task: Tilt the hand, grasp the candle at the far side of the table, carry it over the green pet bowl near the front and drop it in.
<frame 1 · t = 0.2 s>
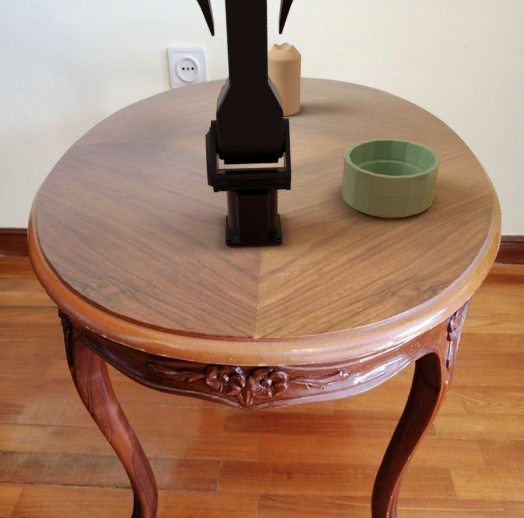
hand: (246, 34, 81), 14 cm above the table, tool pointing down, fingers open, 9 cm apart
green pet bowl: (386, 198, 75), on the table
candle: (283, 111, 99), on the table
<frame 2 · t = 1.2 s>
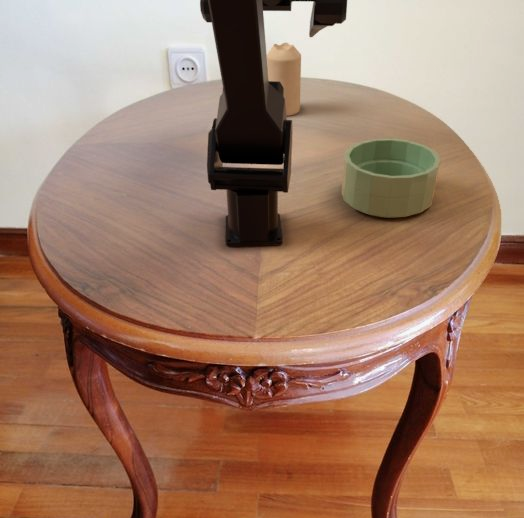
hand: (278, 33, 84), 13 cm above the table, tool tilted 45°, fingers open, 9 cm apart
nothing on the table moved.
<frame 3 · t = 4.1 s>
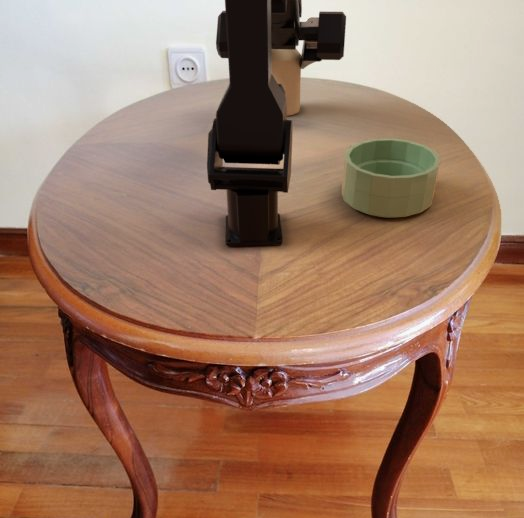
hand: (284, 65, 95), 7 cm above the table, tool tilted 45°, fingers closed on candle, 5 cm apart
candle: (283, 111, 99), on the table, touching gripper
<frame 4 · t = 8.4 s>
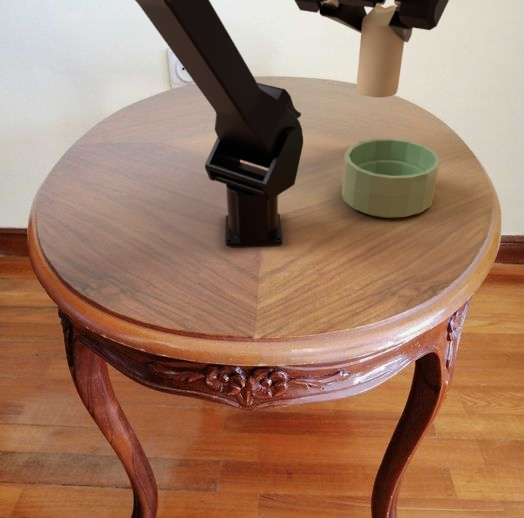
hand: (388, 35, 76), 15 cm above the table, tool tilted 45°, fingers closed on candle, 5 cm apart
candle: (376, 92, 80), point 8 cm above the table, touching gripper
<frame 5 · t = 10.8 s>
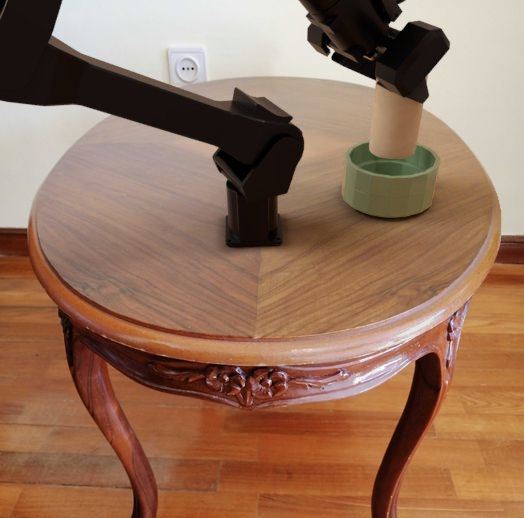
hand: (409, 91, 67), 13 cm above the table, tool tilted 45°, fingers closed on candle, 5 cm apart
candle: (391, 152, 71), point 6 cm above the table, touching gripper
when the fingers open (9 cm above the table, at t = 12.6 s): candle drops 2 cm, resting on green pet bowl.
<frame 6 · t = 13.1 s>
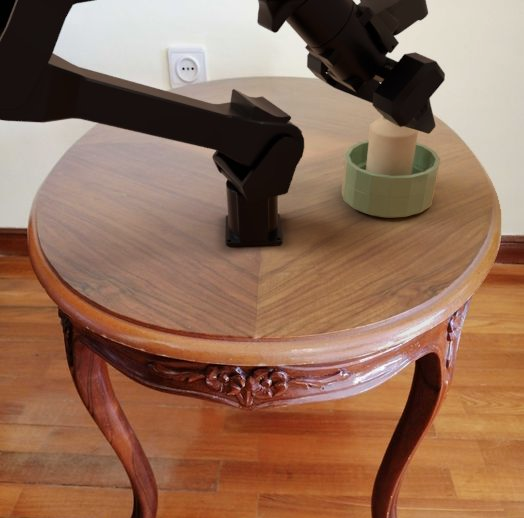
hand: (407, 116, 69), 10 cm above the table, tool tilted 45°, fingers open, 9 cm apart
candle: (385, 196, 75), resting on green pet bowl
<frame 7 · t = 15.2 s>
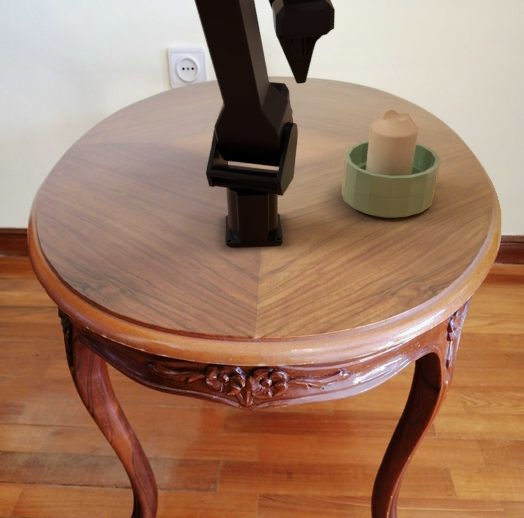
hand: (296, 65, 74), 13 cm above the table, tool pointing down, fingers open, 9 cm apart
nothing on the table moved.
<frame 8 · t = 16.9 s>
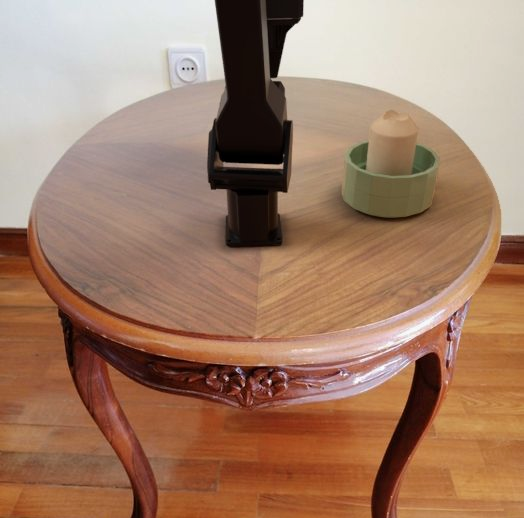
hand: (270, 66, 74), 13 cm above the table, tool pointing down, fingers open, 9 cm apart
nothing on the table moved.
at the end: candle inside the target area in the green pet bowl (0.2 cm from its centre), point 0.3 cm above the green pet bowl's base; the gripper is holding nothing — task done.
